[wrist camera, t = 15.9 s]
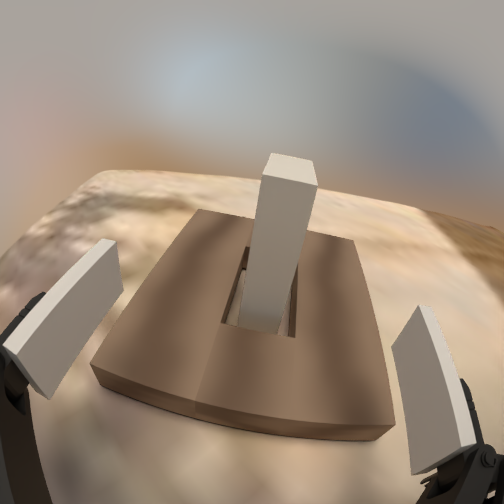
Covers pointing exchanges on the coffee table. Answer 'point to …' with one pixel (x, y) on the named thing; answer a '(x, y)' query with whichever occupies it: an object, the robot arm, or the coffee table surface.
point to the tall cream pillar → (276, 240)
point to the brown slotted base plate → (253, 340)
